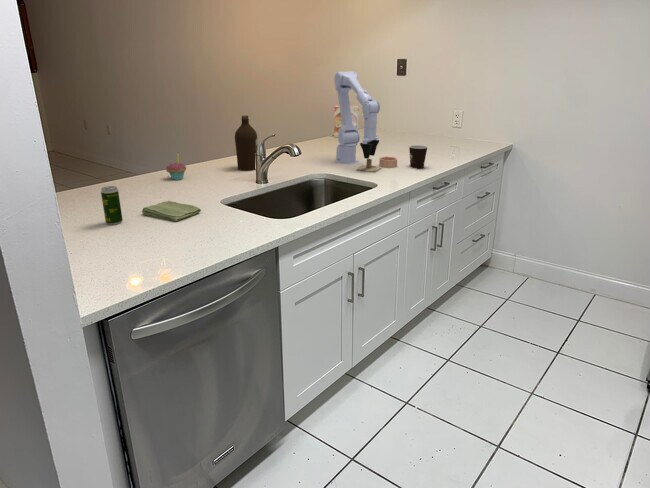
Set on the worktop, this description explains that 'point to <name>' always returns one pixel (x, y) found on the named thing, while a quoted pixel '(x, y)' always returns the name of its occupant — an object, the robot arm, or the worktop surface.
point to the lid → (369, 167)
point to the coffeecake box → (339, 122)
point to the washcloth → (170, 210)
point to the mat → (365, 171)
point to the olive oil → (245, 145)
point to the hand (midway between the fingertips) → (369, 156)
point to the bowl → (388, 162)
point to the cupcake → (176, 169)
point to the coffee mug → (417, 156)
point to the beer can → (111, 205)
